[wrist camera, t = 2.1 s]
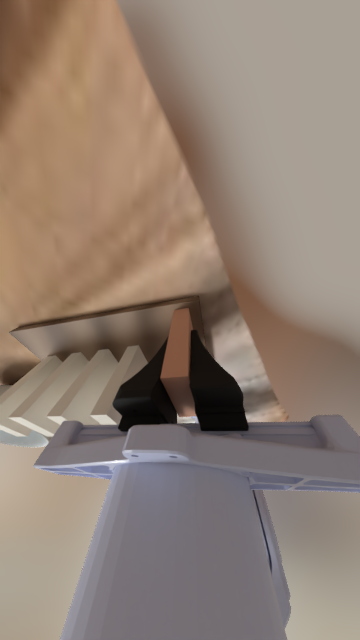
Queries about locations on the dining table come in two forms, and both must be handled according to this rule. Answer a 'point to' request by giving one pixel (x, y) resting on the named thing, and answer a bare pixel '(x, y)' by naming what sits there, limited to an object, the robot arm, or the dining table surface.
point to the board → (109, 331)
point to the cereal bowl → (25, 441)
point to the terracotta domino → (179, 364)
